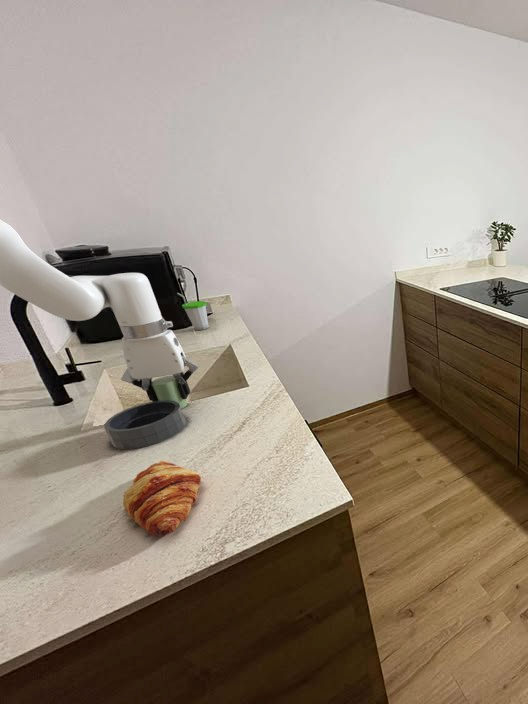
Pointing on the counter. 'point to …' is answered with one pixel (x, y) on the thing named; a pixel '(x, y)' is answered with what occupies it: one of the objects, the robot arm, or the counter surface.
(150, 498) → the croissant
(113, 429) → the basin
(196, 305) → the cup
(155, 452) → the counter surface
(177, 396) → the mint green cylinder
